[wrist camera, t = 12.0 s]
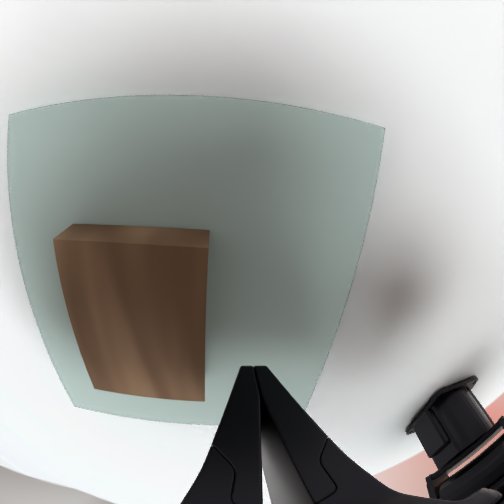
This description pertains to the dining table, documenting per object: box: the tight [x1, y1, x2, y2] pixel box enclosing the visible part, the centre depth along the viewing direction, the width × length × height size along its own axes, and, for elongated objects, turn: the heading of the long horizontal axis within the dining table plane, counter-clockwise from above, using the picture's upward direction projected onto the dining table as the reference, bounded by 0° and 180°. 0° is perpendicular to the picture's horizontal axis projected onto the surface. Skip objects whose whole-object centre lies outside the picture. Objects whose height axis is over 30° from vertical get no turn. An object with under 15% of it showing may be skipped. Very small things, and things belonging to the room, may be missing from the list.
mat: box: [7, 95, 385, 425], centre depth 11 cm, size 14×16×1 cm
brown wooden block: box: [53, 224, 210, 402], centre depth 9 cm, size 2×7×5 cm
